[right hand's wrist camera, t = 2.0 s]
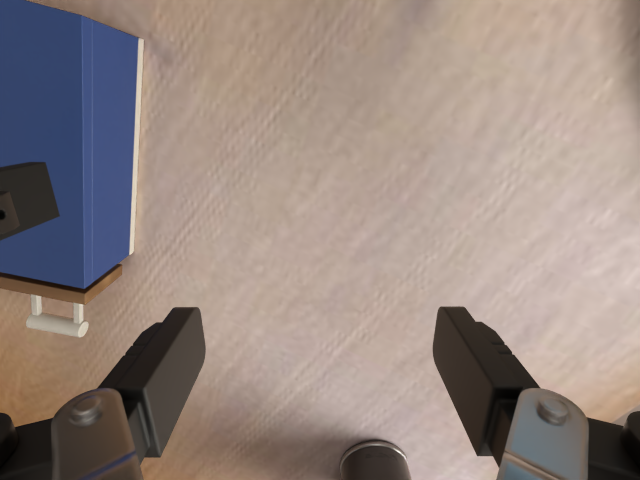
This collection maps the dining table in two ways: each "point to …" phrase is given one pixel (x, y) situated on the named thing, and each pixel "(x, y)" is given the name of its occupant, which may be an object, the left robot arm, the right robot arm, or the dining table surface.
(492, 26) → the dining table surface
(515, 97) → the dining table surface
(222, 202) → the dining table surface
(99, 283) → the drawer
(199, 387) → the dining table surface
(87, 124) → the cabinet
